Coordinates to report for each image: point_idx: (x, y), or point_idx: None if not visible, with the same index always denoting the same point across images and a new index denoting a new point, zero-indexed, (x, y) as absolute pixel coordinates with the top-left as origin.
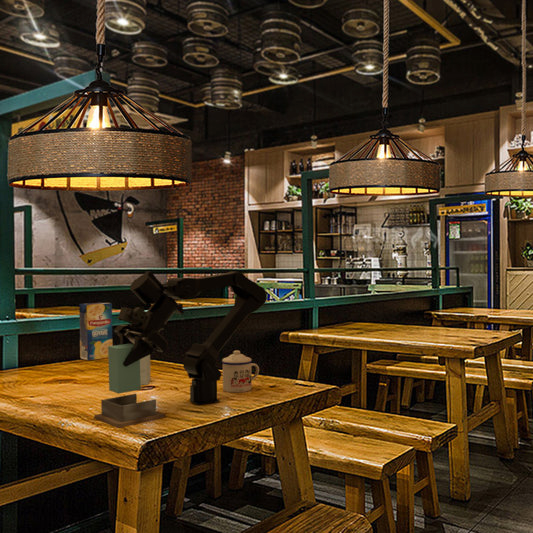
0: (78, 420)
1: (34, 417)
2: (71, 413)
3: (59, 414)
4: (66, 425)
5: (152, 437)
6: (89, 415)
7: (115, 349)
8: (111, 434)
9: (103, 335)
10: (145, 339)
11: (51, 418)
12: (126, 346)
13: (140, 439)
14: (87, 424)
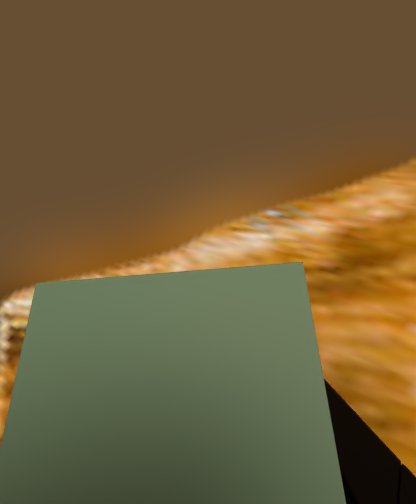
0: (286, 253)
1: (391, 171)
2: (387, 260)
3: (392, 229)
4: (254, 216)
5: (10, 344)
6: (327, 296)
7: (91, 284)
8: (105, 276)
9: None
10: None
11: (353, 202)
12: (69, 484)
13: (22, 314)
14: (229, 259)
